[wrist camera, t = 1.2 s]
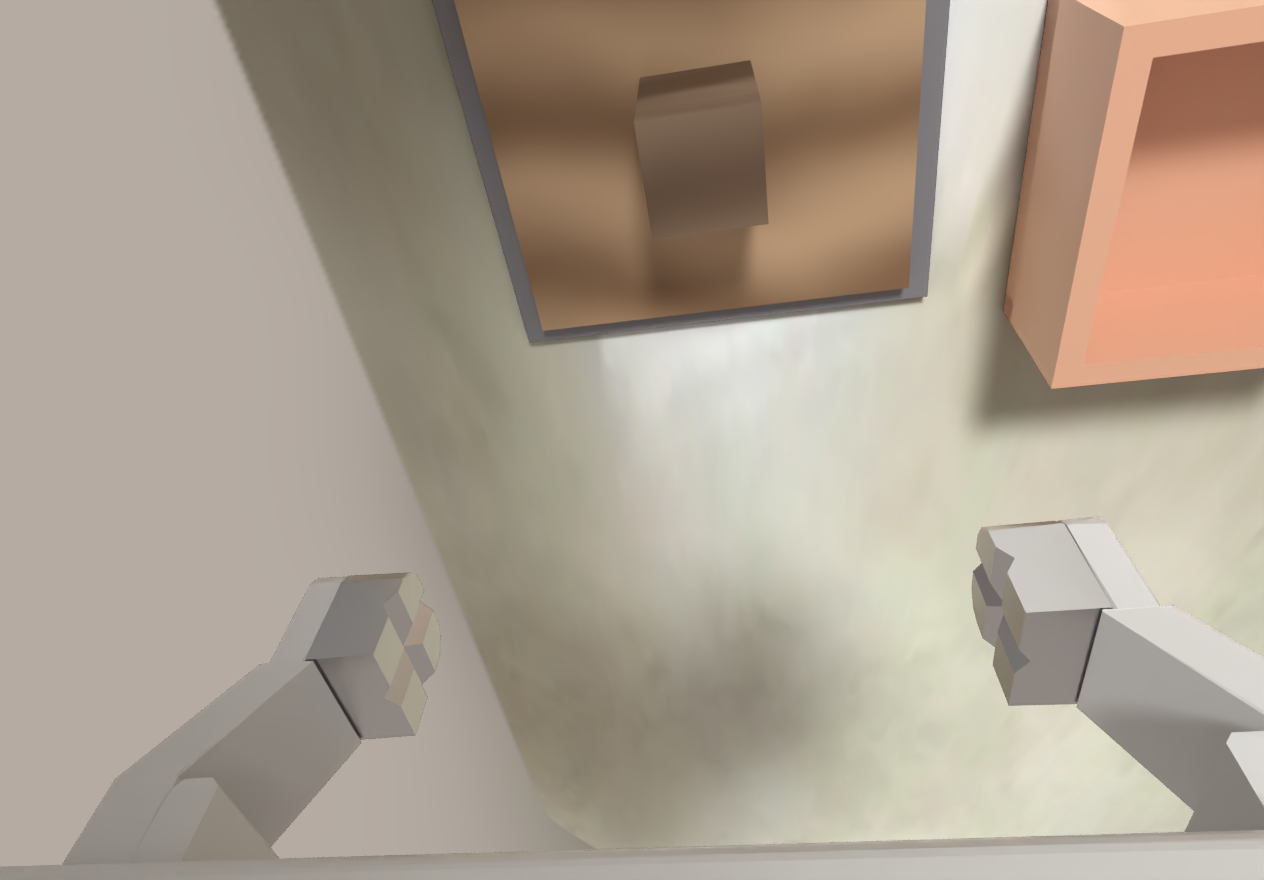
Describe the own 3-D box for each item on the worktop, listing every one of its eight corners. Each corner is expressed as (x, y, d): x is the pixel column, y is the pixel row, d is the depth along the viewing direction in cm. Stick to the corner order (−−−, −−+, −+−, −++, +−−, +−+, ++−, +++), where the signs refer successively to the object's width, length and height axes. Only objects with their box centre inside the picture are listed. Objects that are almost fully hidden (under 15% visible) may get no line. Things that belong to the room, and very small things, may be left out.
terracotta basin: (1050, -14, 28) (1124, 26, 23) (1471, -83, 26) (1642, -54, 22) (1003, 310, 36) (1051, 388, 31) (1323, 275, 34) (1424, 352, 30)
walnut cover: (436, -89, 27) (388, -63, 22) (930, -185, 25) (986, -179, 20) (545, 321, 37) (526, 396, 32) (904, 278, 35) (938, 352, 30)
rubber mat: (402, -120, 27) (398, -119, 26) (963, -233, 24) (967, -234, 24) (530, 336, 38) (529, 342, 38) (924, 290, 36) (927, 296, 35)
